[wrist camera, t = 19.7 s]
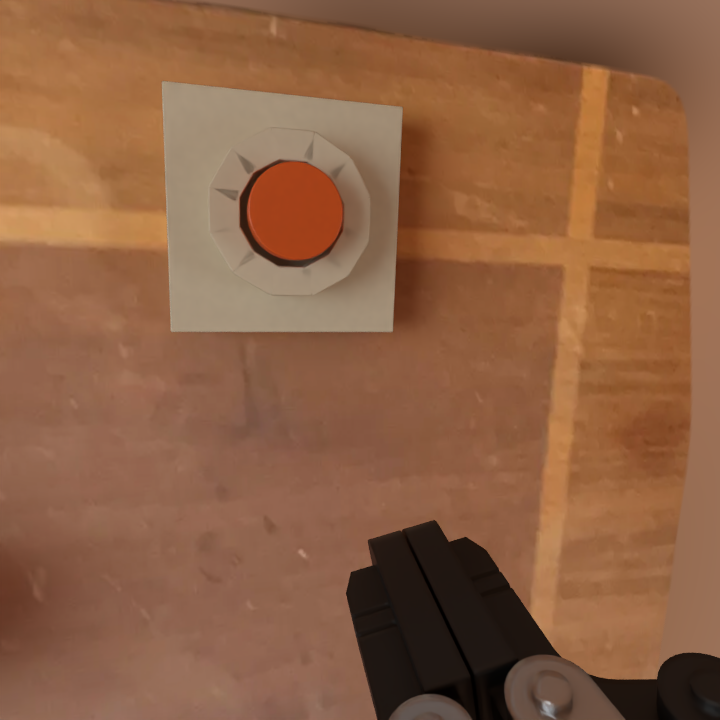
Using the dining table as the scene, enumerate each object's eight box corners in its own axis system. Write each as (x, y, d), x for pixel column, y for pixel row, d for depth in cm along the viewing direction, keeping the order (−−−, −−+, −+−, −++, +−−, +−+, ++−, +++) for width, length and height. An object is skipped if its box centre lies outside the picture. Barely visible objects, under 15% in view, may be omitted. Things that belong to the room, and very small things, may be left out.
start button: (336, 172, 21) (344, 164, 19) (334, 261, 22) (342, 261, 20) (246, 165, 20) (247, 157, 18) (247, 258, 21) (247, 258, 19)
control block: (388, 119, 25) (417, 93, 21) (380, 326, 26) (405, 337, 23) (168, 97, 22) (154, 63, 18) (176, 325, 24) (165, 338, 20)
